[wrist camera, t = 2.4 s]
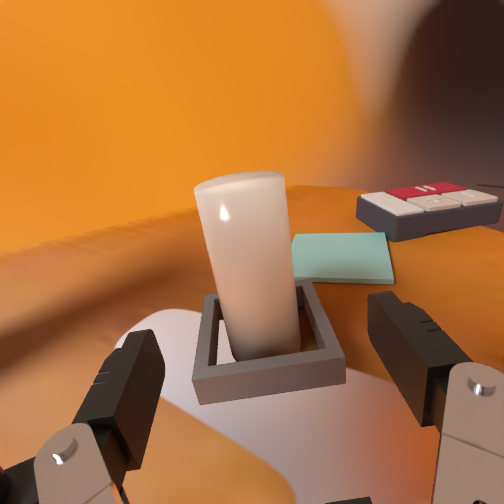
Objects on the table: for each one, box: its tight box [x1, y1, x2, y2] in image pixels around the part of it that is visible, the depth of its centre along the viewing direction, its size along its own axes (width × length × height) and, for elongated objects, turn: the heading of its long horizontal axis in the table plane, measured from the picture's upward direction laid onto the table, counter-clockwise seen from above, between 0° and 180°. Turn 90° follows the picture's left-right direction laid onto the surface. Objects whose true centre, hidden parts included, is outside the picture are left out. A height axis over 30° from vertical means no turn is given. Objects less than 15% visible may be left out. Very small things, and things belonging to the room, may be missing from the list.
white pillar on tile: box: [194, 171, 301, 362], centre depth 24 cm, size 8×6×14 cm
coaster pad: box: [291, 232, 394, 285], centre depth 38 cm, size 12×12×1 cm
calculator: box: [356, 182, 503, 242], centre depth 44 cm, size 11×4×15 cm
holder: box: [192, 279, 346, 405], centre depth 26 cm, size 10×10×2 cm
